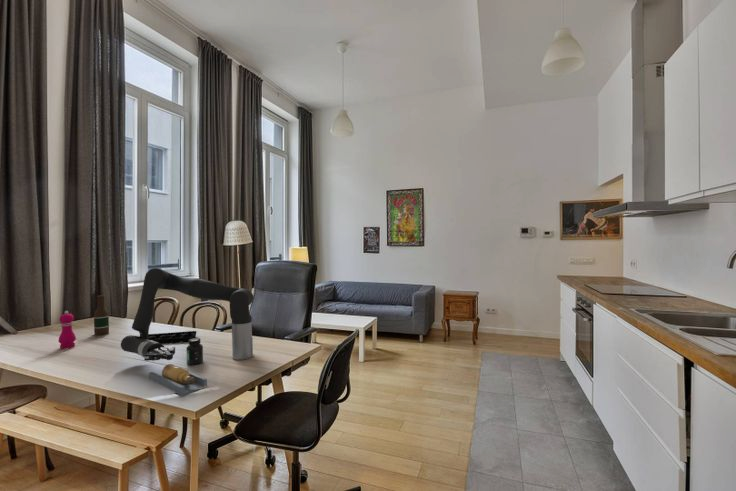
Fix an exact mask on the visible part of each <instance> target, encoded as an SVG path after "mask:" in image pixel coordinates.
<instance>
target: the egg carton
mask: <svg viewBox="0 0 736 491" xmlns="http://www.w3.org/2000/svg"><path fill="white" fill-rule="evenodd" d="M197 332H198V331H196V330H189V331H177V332H176V331H175V332H174V331H173V332H161V333H149V334H148V340H152V341H155V342H158V343H161V344H162V345H166V344H167V345H168V344H170V343H171V344H179V343H189V340H190V339H193V338H197Z"/></svg>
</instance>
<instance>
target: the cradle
mask: <svg viewBox="0 0 736 491" xmlns="http://www.w3.org/2000/svg"><path fill="white" fill-rule="evenodd" d="M187 371H188V372H189V374H190V376H192V377H194V378H195V382H194V383H193V384H192V385H190V384H187V382H186V383H183V384H178V383H176V382H173V381H171V380H169V379H167V378H165V377H163V376H162V374H158V373H156V372H153V371H150V372H148V379H149V380H150V381H153V382H155V383H157V384H159V385H161V386H163V387H165V388H168V389H170V390H171V391H173V394H174V395H177V396H178V397H180V398H182V397H186V396H188V395H190V394H194V393H196V392H199V391H202V390H204V389H205V387H206V386H208V378H206V377H204V376H201V375H200V374H199V375H198V374H196V373H194V372H191V371H189V370H187Z"/></svg>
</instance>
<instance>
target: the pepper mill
mask: <svg viewBox="0 0 736 491" xmlns="http://www.w3.org/2000/svg"><path fill="white" fill-rule="evenodd" d="M74 319H75V316H74V315H73V314H72V313H69V311H68V310H64V314H62V315H61V316H60V317H59V322H60V326H61V333H60V335H59V337H58V343H59V344H60V345H59V349H60V348H61V350H67V349H66V348H68V349H72V348H75V346H76V343H75V341H76V339H77V336H76V335H75V332H74V331H73V325H74V324H73V321H74ZM71 347H72V348H71Z"/></svg>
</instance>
